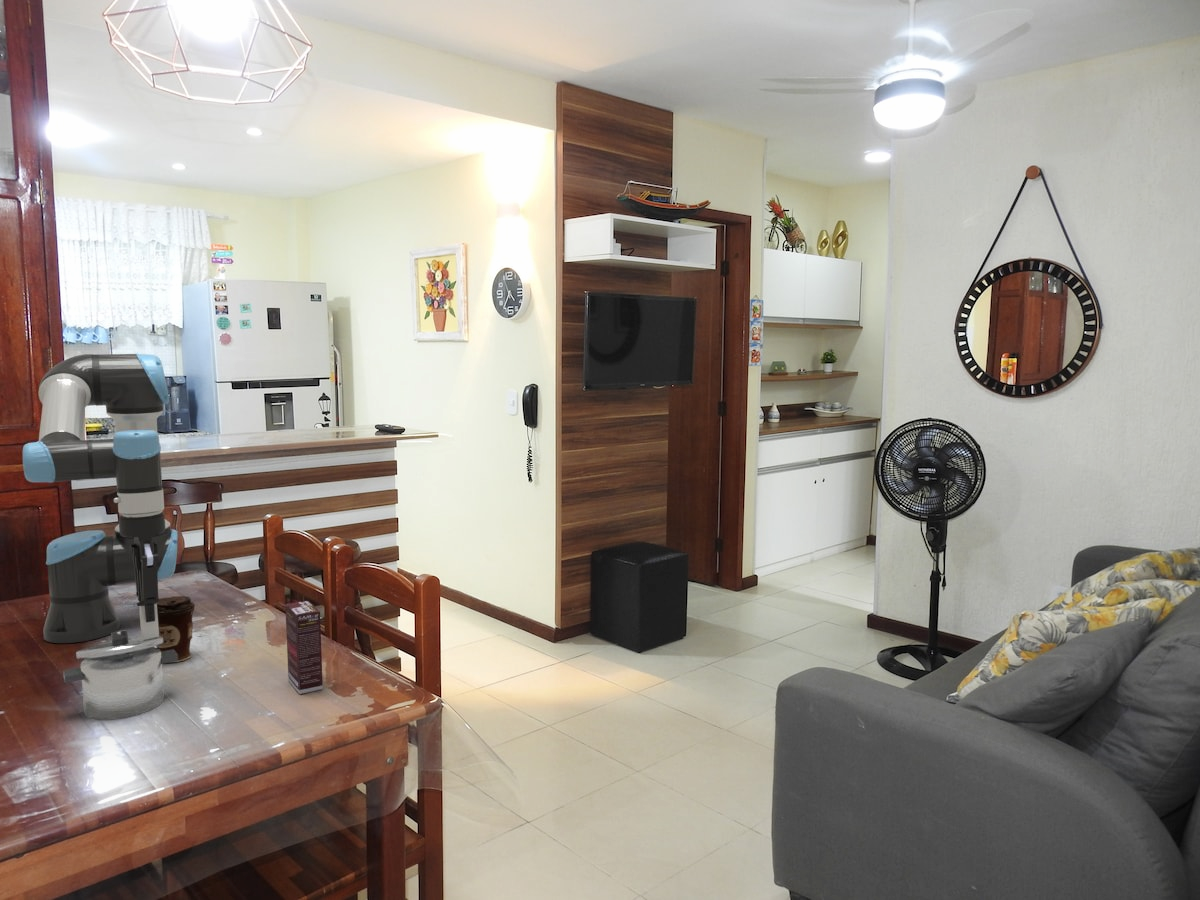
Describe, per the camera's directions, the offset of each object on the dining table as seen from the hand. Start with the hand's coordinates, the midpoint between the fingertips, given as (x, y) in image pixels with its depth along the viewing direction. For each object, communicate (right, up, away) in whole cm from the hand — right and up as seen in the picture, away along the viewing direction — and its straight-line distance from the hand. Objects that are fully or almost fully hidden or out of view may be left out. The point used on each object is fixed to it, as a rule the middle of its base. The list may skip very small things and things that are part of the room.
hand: (150, 636), depth 158 cm
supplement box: (+27, -11, +8) cm, 30 cm away
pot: (-4, -12, -2) cm, 13 cm away
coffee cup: (-6, -10, +21) cm, 24 cm away
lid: (-4, -2, -2) cm, 5 cm away
